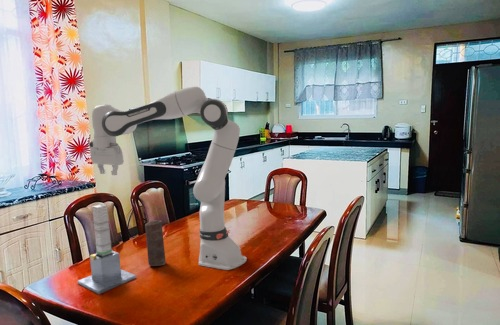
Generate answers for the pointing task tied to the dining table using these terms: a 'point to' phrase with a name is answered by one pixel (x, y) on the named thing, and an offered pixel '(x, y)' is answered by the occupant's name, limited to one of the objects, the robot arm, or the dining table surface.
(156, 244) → the grey upright block
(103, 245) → the column
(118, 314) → the dining table surface
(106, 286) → the stand
